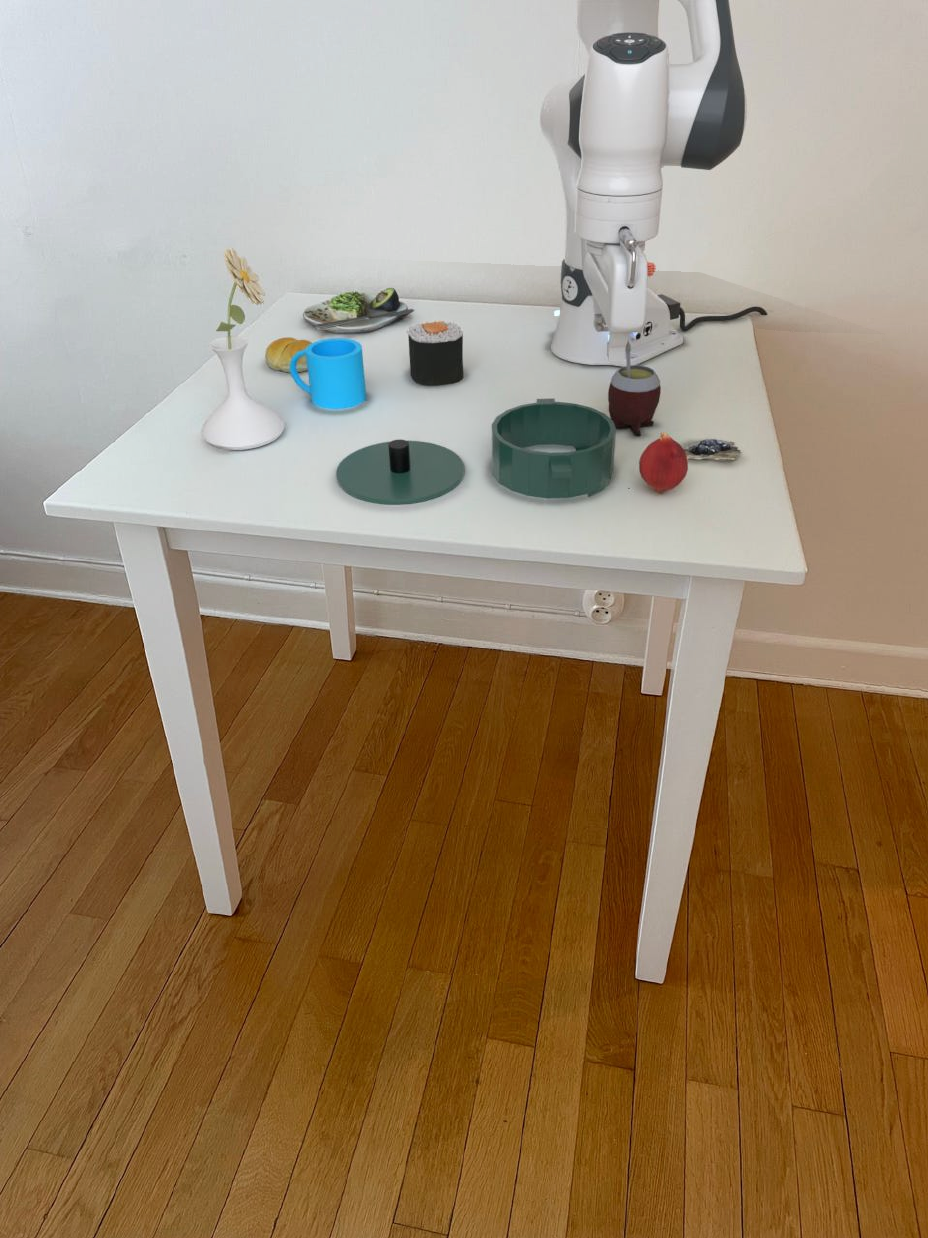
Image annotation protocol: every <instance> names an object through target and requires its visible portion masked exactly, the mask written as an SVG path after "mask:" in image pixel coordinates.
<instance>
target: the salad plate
mask: <svg viewBox="0 0 928 1238" xmlns="http://www.w3.org/2000/svg"><path fill="white" fill-rule="evenodd" d="M413 312H415V309H414V308H413V309H412V308H409V309H408V305H407V304H406V303H405V302H403V301H400V298H399V294H398V292H397V290H396V289H395V288H394V287H387V288H385V289H384V290H381V291H380V292H378V293H377V294H373V293H368V292H359V291H351V292H343V293H340V294H338V295H335V296H333V297H331V298H329V299H327V300H324V301H322V302H320V303H317V304H314V305H310V306H309V307H306V308H305V309H303V313H302V318H303V319H304V321H306V322H308V324H310V325H312V326H311V327H314V328H315V330H318V331H325V332H329V333H331V334H358V333H369V332H373V331H376V330H379V329H381V328H383V327H387V326H390V325H394V324H395V323H398V322H399V321H401V320H403V318H404V317H407V316H408V315H411V314H412V313H413Z"/></svg>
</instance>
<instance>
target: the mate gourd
mask: <svg viewBox="0 0 928 1238" xmlns="http://www.w3.org/2000/svg"><path fill="white" fill-rule="evenodd" d="M630 351H631V345H630V344H629V340H628V342H627V345H626V350H625V352H626V364H627V366H625V367H622V366H620V368H618V369H617V370H616V371H615V372H614V374H613V375H612V377H611V379H610V383H609V386H608V392H607V401H608V413H609V418H610V419H611V420H612V421H613V422H614V425H615V427H616V431H617V430H627V429H628V430H630V432H631V433H632V434H633V435H634V437H641V436H642V432H641V430H640V428H646V427H647V428H648V427H654V420H653V419H654V415H655V413H656V411H657V408H658V406H659V402H660V399H661V392H662V391H661V390H662V388H661V387H662V386H661V380H660V377H659V375H658V374H657V372H656V371H655V370H654V369H653V368H651V367H649V366H646V365H645V366H644V365H640V364H637V365H631V364H630Z"/></svg>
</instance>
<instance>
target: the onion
mask: <svg viewBox="0 0 928 1238" xmlns="http://www.w3.org/2000/svg"><path fill="white" fill-rule="evenodd" d="M683 448H684V447H683V446H682V445H681V444H680V443H679V442H678V441H676V439H674V438H672V437H671V436H670V435H669V433H668V432H666V431H665V432H664V431H663V432H661V433H660V438H657V439H655V440H654V441H652V442H650V443H649V444H648V445H647V446H646V448H645V449H644V450H643V452H641V455H640V457H639V461H638V469H639V470H638V471H639V475H640V477H641V478H642V480H643V481H644V482H645V483H646V484H647V485H648V486H649V487H650V488H651V489H653V491H654V492H655V493H658V494H662V493H665V492H667V491H670V490H673V489H675V488H676V487H677V486H678V485H680V484H681V483H682V482H683V481H684V480H685V478H686V476H687V473H688V470H689V468H688V467H689V465H688V463H689V461H688V459H687V456H686V453H685V451H684V449H683Z"/></svg>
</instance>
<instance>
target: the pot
mask: <svg viewBox="0 0 928 1238" xmlns="http://www.w3.org/2000/svg"><path fill="white" fill-rule="evenodd" d="M616 436H617V430H616V427H615V425H614V422H613V421H612V420H611V418H610V416H608V415H607V414H606V413H604V412H602V411H600V410H598V409H595V408H594V407H591V406H587V405H582V404H579V403H573V402H564V401H556V399H555V398H550V397H549V398H536V402H532V403H526V404H521V405H517V406H514V407H512V408H509V409H506V410H505V411H503V412H501V413H500V414H499V415H497V416H496V417H495V419H494V420H493V422H492V423H491V474H492V476H493V478H494V479H495V481H497V483H499V484H500V486H503V487H504V488H506V489H508V490H510V491H511V492H514V493H518V494H521V495H524V496H527V497H531V498H532V497H533V498H541V499H570V498H575V497H580V496H585V495H587V498H589V497H591V496H594V495H597V494H599V493H600V492H601V491H603V490H604V489H605V488H606V487H607V486H609V484H610V482H611V480H612V476H613V473H614V462H615V450H616V438H617V437H616ZM539 445H540V446H545V445H558V446H566V447H573V448H575V450H573V451H564V452H563V451H562V452H561V451H559V452H547V451H539V450H531V449H527V448H528V447H535V446H539Z"/></svg>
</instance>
